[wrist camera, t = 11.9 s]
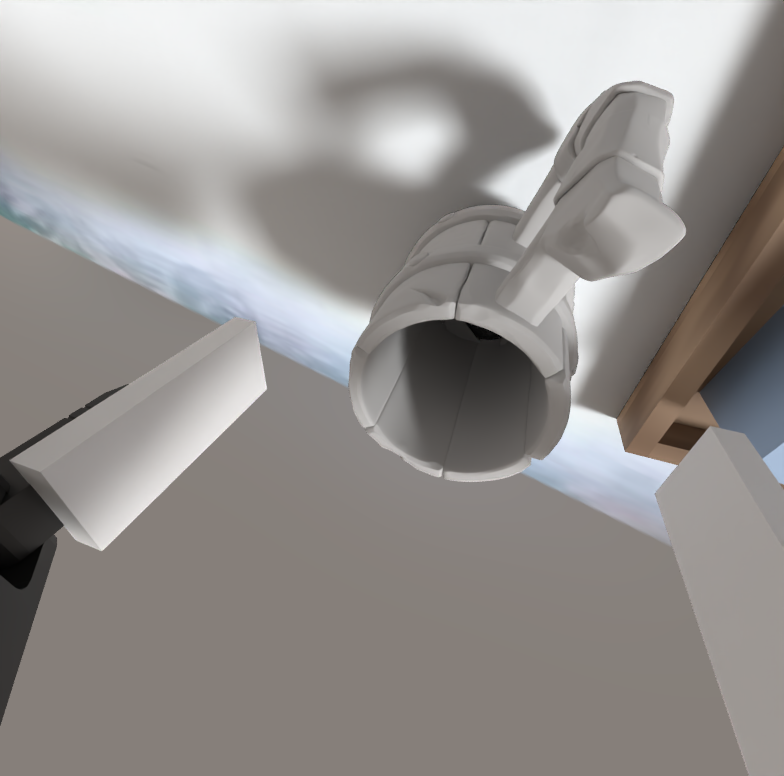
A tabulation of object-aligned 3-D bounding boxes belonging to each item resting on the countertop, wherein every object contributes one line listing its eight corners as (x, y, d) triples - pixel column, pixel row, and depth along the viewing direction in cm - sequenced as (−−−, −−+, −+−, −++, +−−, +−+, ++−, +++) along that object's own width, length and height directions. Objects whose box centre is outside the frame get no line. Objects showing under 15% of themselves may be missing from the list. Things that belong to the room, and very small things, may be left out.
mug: (387, 308, 20) (263, 465, 11) (519, 38, 13) (473, -178, 3) (504, 376, 20) (478, 587, 11) (705, 151, 13) (1129, 237, 4)
